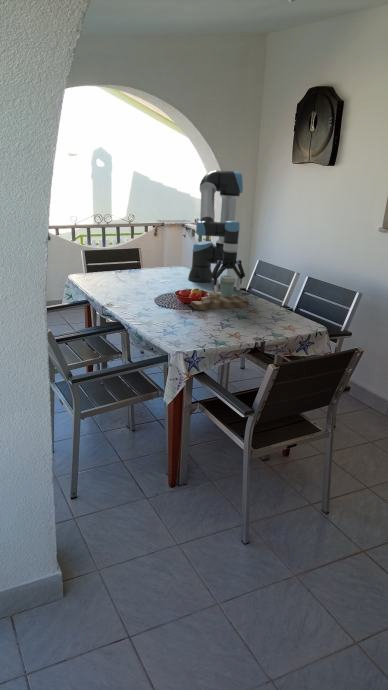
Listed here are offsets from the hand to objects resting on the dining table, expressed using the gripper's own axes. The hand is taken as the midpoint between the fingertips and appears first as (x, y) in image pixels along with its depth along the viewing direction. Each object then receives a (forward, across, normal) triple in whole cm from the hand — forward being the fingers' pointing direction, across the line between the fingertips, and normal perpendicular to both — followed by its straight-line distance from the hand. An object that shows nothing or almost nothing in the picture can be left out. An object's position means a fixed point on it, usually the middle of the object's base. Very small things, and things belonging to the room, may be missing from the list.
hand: (226, 290), depth 276 cm
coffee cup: (+5, 0, 0) cm, 5 cm away
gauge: (+2, +16, +13) cm, 21 cm away
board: (+5, +11, +11) cm, 16 cm away
